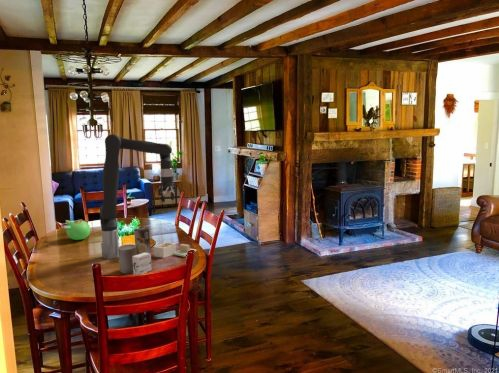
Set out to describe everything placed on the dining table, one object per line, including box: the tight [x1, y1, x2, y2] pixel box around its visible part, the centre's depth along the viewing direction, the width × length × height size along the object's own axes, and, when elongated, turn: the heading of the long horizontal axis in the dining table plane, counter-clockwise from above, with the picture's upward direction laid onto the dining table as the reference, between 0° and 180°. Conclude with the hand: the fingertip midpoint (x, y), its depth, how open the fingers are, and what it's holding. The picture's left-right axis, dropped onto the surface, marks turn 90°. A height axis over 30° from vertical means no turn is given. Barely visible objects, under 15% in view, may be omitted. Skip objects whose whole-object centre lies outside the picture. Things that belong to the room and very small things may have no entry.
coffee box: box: [133, 227, 152, 255], centre depth 247 cm, size 9×6×16 cm
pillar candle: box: [118, 244, 137, 275], centre depth 219 cm, size 10×10×15 cm
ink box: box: [132, 253, 153, 276], centre depth 210 cm, size 9×5×12 cm, turn 141°
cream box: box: [153, 241, 177, 259], centre depth 246 cm, size 11×8×6 cm
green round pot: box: [63, 218, 91, 241], centre depth 285 cm, size 18×17×15 cm
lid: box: [172, 243, 198, 258], centre depth 247 cm, size 12×9×6 cm
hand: (168, 200), depth 253 cm, fingers open, 8 cm apart
